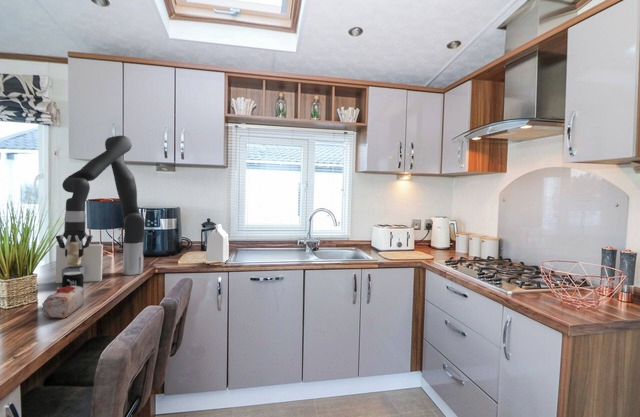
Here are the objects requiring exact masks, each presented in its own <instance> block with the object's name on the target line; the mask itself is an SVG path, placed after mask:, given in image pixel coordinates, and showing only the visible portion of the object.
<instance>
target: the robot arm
mask: <svg viewBox="0 0 640 417" xmlns="http://www.w3.org/2000/svg"><path fill="white" fill-rule="evenodd" d="M132 144H133V143H132V141H131V138H129V137H128V136H125V135H115V136H109V137H108V138H106V139H105V143H104V146H105V147H104V148H105V151H104V152H102V153H101V154H99V155H97V156H95V157H93V158H92V159H91V160H90V161H88V162H87V163H86V164H85V165H84V166H82V167H81V168H80V169H79V170H77V171H75V172H73V173H72V174H70V175H68V177H66V178H65V179H64V180H63V182H62V186H61V187H62V189H63V190H64V191H65V192H66V193H72V195H71V197H70V198H67V199H66V201H65V213H64V219H63V220H64V231H63V234H59V235H56V236H55V239H56V241H57V245H59V247H60V248H63V249H65V256H66V257H67V246H68V242H79V243H78V244H79V257H82V256H83V254H84V248H87V247H89V245H91V242H92V241H93V237H94V236H93V235H89V234H87V233H86V220H87V219H86V215H87V214H86V201H87V199H88V196H89V193H90V189H91V187H90V183H89V182H92V181H95V179H97V178H98V177H99V176H100V175H101V174H102V173H103V172H104V171H105V170H106V169H107V168H108V167H110V166H111V169H112V174H113V179H114V183H115V187H116V191H117V192H116V193H117V194H118V198H119V201H120V203H121V207H122V208H121V209H122V216H123V224H124V233H123V234H124V235H123V245H122V246H123V250H122V253H123V254H122V274H123V275H125V276H130V275H131V276H133V275H141V274H142V273H143V272H144V237H145V227H146V226H145V218H144V217H143V216H142V214H141V212H140V210H139V206H138V191H137V190H138V189H137V183H136V179H135V176H134V174H133V173H132V172H131V169H129V167H128V166H127V165H126V163H125V159H124V155H125V154H126V153H128V152H130V150H132V146H133V145H132ZM64 238H65V240H66V242H65V241H64ZM84 239H85V240H86V241H85V243H84V241H83V240H84ZM80 241H81V242H80Z"/></svg>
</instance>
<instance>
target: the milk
mask: <svg viewBox="0 0 640 417" xmlns="http://www.w3.org/2000/svg"><path fill="white" fill-rule="evenodd" d="M229 240H230V239H229V234H228V233H227V232H226V230H224V229H223V227H222V224H216V225H215V229H213V230H212V231H211V233H210V234H209V235H207V243H206V252H205V261H206V260H207V261H220V262H225V261H226V260H228V259H229V258H230V255H229V254H230V251H229V250H230V247H229V245H230V244H229ZM229 260H230V259H229Z"/></svg>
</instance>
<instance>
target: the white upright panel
mask: <svg viewBox="0 0 640 417" xmlns="http://www.w3.org/2000/svg"><path fill="white" fill-rule="evenodd" d="M55 249H56V250H55V251H56V252H55V257H56V258H55V282H54V283H55V284H60V283H61V284H62V277H63V276H64V273H66V272H71V271H82V274H83V275H84V281H83V283H85V282H88V283H91V282H101V281H103V257H104V256H103V254H104V252H103V251H104V244H89V247H87V248H84V254H83V256H82V257H81V264H80V265H78V266H67V257H66V256H65V249H63V248H60V247H59V244H57V245H56V248H55Z"/></svg>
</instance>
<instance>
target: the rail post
mask: <svg viewBox="0 0 640 417" xmlns="http://www.w3.org/2000/svg"><path fill="white" fill-rule="evenodd" d="M80 242H81V241H80ZM78 243H79V242H68V246H67V266H78V265H80V264H81V257H79V244H78Z"/></svg>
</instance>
